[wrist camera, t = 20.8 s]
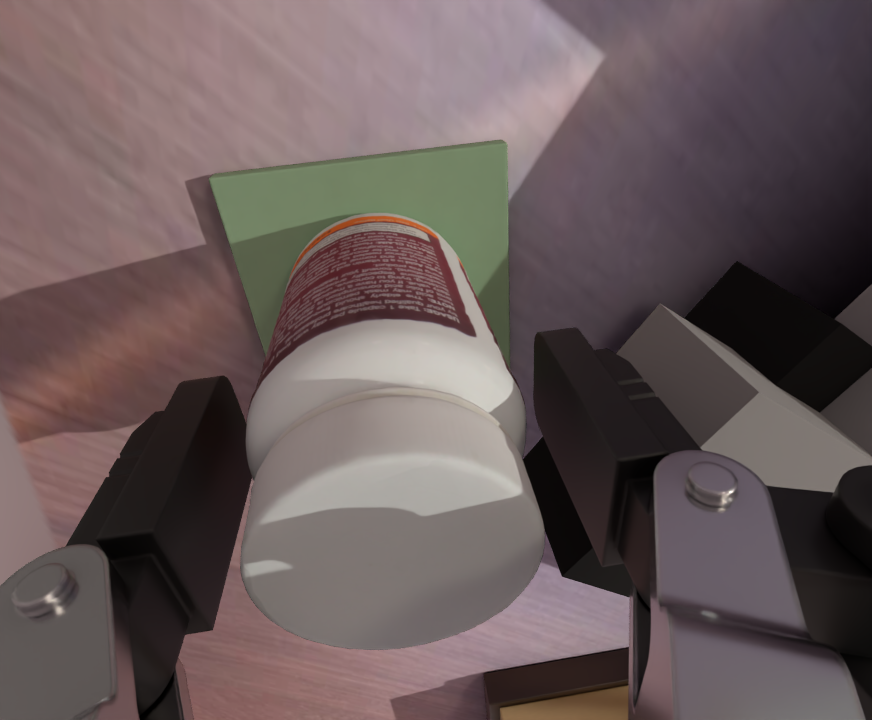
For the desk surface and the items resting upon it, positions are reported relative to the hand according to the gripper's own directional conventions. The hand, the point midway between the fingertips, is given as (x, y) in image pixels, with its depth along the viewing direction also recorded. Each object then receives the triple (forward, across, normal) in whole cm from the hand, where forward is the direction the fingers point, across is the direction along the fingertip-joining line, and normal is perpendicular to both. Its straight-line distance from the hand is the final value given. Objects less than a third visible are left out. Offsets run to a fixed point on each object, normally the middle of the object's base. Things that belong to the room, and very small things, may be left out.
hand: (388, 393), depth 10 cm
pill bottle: (+5, 0, 0) cm, 5 cm away
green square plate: (+5, 0, 0) cm, 5 cm away
